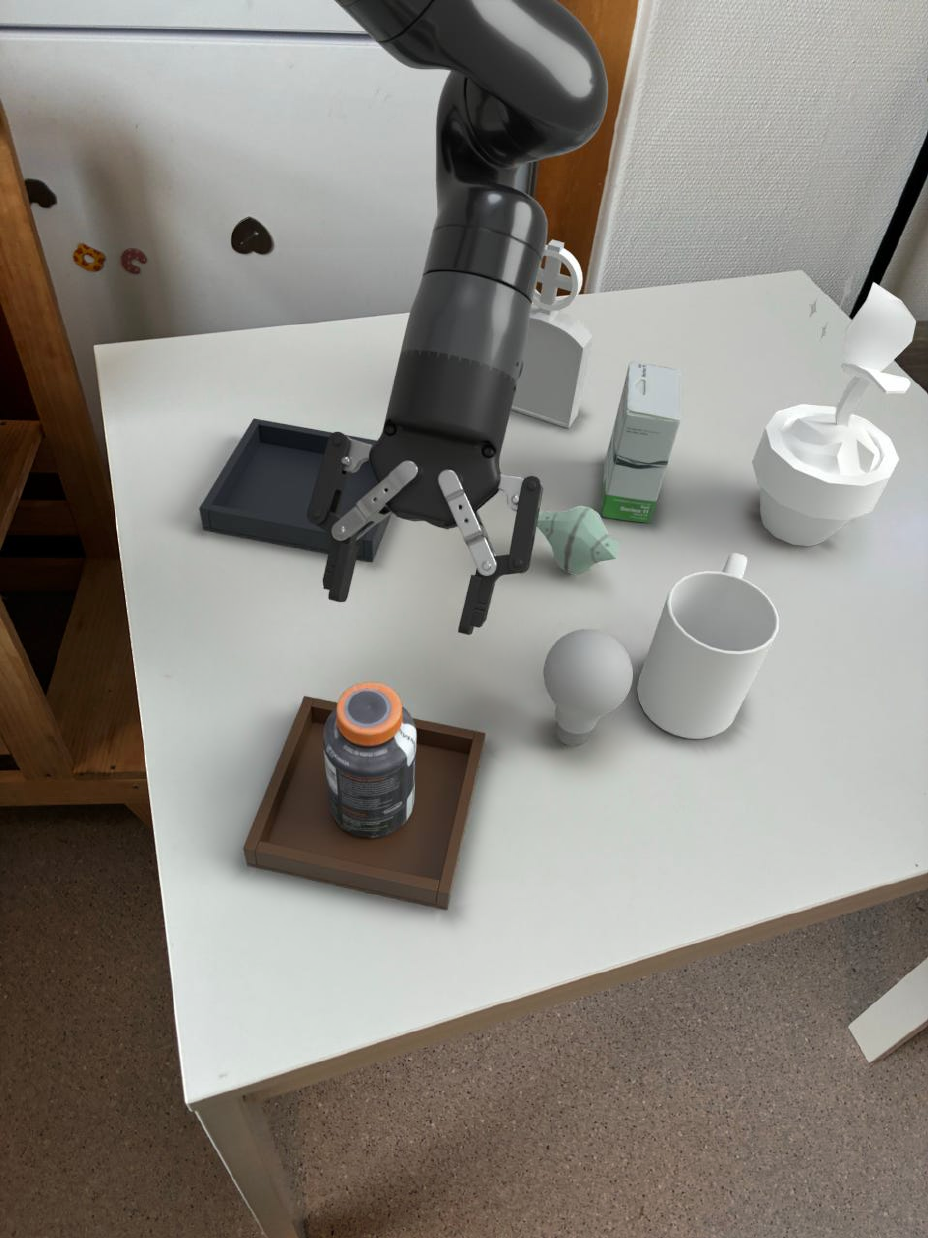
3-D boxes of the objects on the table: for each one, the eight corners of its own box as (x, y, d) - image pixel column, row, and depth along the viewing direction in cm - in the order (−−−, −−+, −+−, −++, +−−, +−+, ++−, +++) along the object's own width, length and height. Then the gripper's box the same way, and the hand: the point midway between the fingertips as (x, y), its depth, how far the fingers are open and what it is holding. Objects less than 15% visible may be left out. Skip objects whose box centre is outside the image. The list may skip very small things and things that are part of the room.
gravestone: (568, 428, 94) (599, 263, 80) (486, 401, 96) (503, 235, 83) (577, 415, 96) (609, 250, 82) (497, 388, 98) (515, 224, 84)
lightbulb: (607, 708, 70) (637, 614, 62) (612, 775, 66) (645, 684, 58) (529, 702, 70) (548, 607, 62) (530, 770, 66) (551, 677, 58)
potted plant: (738, 474, 91) (831, 229, 72) (856, 503, 89) (982, 260, 70) (724, 556, 83) (824, 304, 64) (853, 590, 81) (995, 341, 62)
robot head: (521, 564, 80) (530, 506, 75) (543, 538, 83) (553, 480, 77) (601, 602, 78) (617, 545, 73) (621, 574, 80) (637, 517, 75)
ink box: (651, 525, 85) (682, 421, 76) (599, 517, 85) (624, 412, 76) (652, 468, 90) (682, 365, 82) (604, 460, 91) (628, 357, 82)
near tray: (246, 865, 60) (242, 848, 58) (306, 714, 68) (304, 695, 66) (447, 910, 58) (449, 894, 57) (483, 750, 67) (485, 732, 65)
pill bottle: (430, 791, 64) (437, 695, 55) (383, 856, 60) (383, 764, 52) (360, 752, 66) (357, 653, 57) (311, 813, 62) (299, 717, 54)
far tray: (203, 530, 80) (198, 508, 78) (256, 439, 89) (253, 417, 87) (372, 562, 79) (372, 541, 77) (409, 467, 88) (410, 445, 86)
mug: (724, 755, 68) (768, 669, 60) (624, 718, 70) (654, 629, 62) (754, 644, 76) (797, 555, 68) (663, 613, 77) (695, 522, 69)
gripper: (335, 324, 53) (275, 591, 54) (570, 374, 52) (503, 648, 53) (366, 357, 61) (313, 590, 62) (572, 401, 59) (514, 641, 60)
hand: (400, 617), depth 57 cm, fingers open, 8 cm apart
